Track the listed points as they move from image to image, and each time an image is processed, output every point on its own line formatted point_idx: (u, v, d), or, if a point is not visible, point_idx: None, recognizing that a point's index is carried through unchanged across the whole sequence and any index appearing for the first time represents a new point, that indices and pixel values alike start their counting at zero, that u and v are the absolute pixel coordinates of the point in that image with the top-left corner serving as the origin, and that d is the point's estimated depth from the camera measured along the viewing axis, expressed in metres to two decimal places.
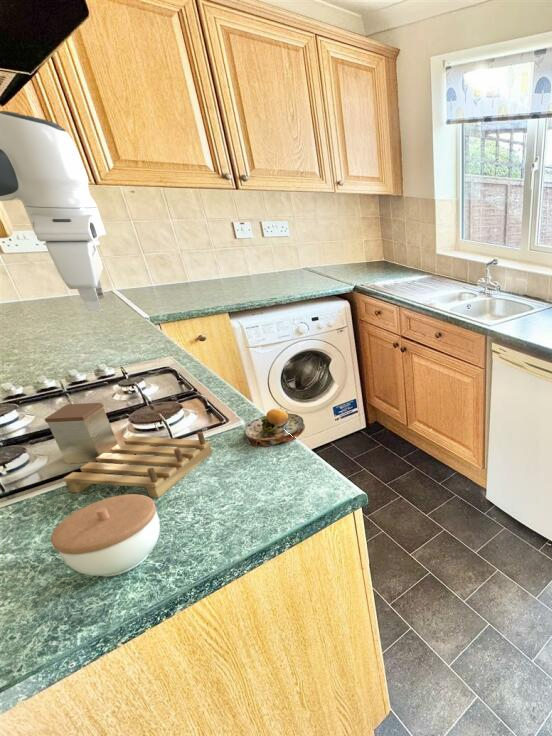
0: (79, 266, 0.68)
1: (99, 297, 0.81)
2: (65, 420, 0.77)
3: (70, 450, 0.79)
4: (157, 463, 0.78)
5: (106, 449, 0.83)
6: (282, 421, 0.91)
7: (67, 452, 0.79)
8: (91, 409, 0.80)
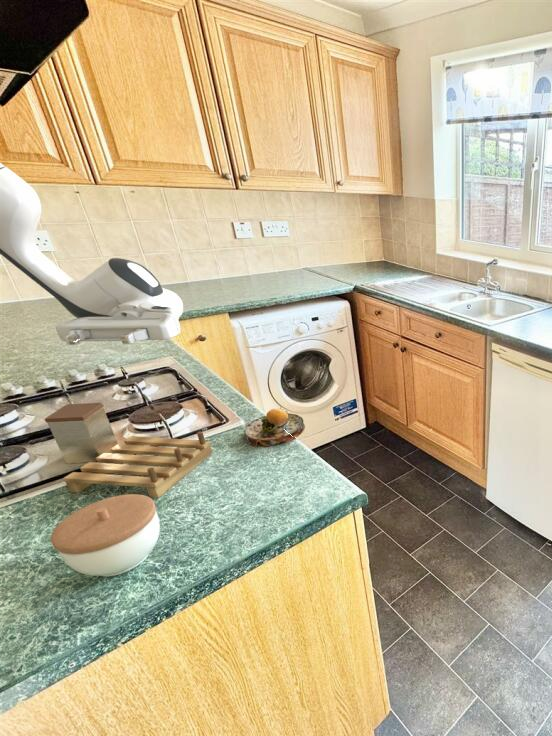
0: (173, 330, 0.95)
1: (75, 341, 0.85)
2: (65, 420, 0.77)
3: (70, 450, 0.79)
4: (157, 463, 0.78)
5: (106, 449, 0.83)
6: (282, 421, 0.91)
7: (67, 452, 0.79)
8: (91, 409, 0.80)
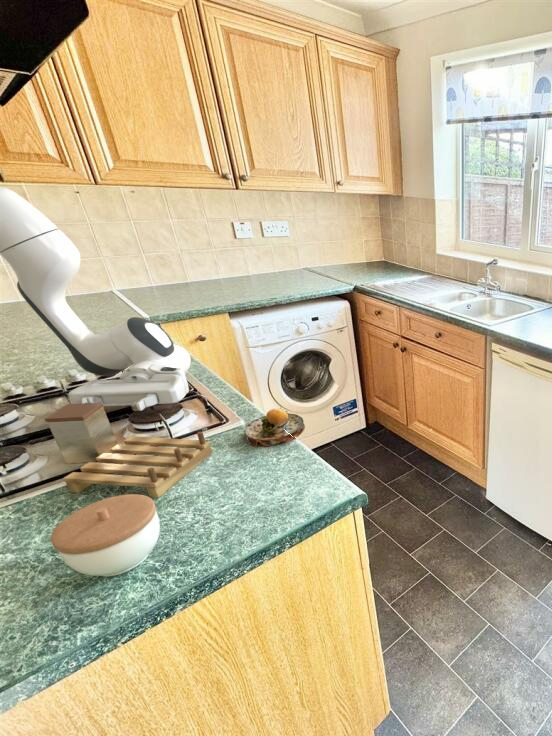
0: (182, 392, 0.98)
1: None
2: (65, 420, 0.77)
3: (70, 450, 0.79)
4: (157, 463, 0.78)
5: (106, 449, 0.83)
6: (282, 421, 0.91)
7: (67, 452, 0.79)
8: (91, 409, 0.80)
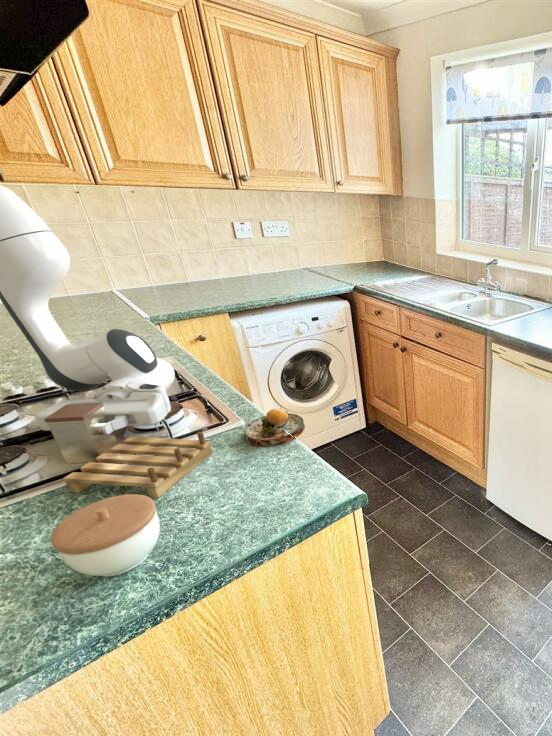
0: (163, 411, 0.90)
1: None
2: (65, 420, 0.77)
3: (70, 450, 0.79)
4: (157, 463, 0.78)
5: (106, 449, 0.83)
6: (282, 421, 0.91)
7: (67, 452, 0.79)
8: (91, 409, 0.80)
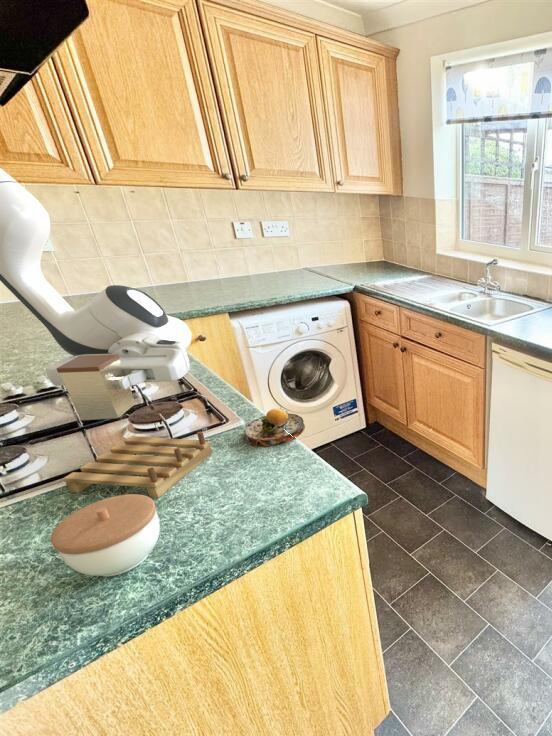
0: (182, 368, 0.83)
1: None
2: (79, 370, 0.70)
3: (84, 405, 0.72)
4: (157, 463, 0.78)
5: (123, 406, 0.76)
6: (282, 421, 0.91)
7: (81, 407, 0.72)
8: (107, 360, 0.73)
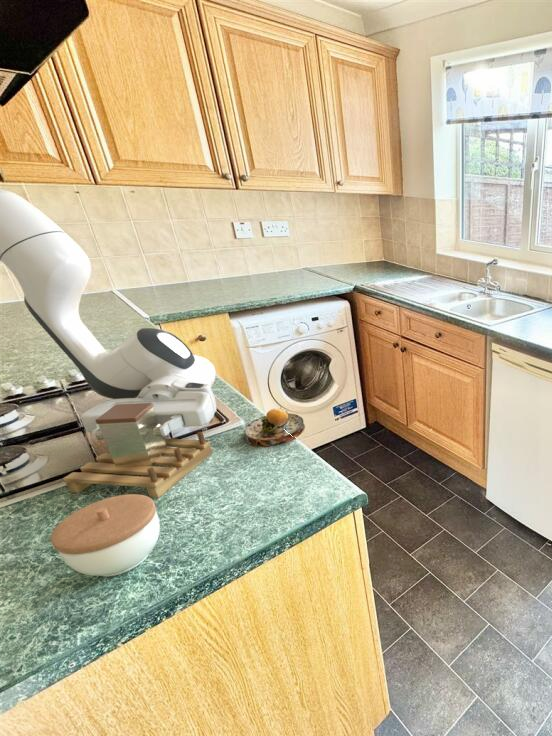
0: (211, 412, 0.85)
1: None
2: (117, 421, 0.72)
3: (120, 453, 0.74)
4: (157, 463, 0.78)
5: (156, 452, 0.78)
6: (282, 421, 0.91)
7: (116, 456, 0.74)
8: (142, 410, 0.75)
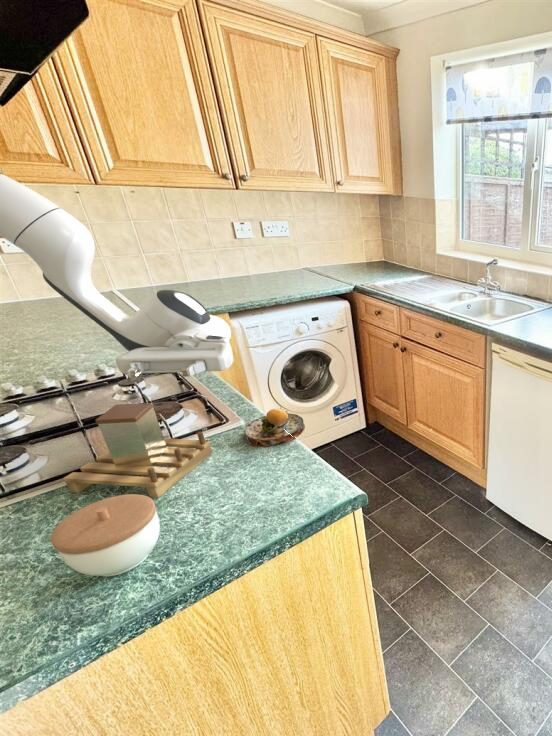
0: (229, 360, 0.95)
1: (137, 375, 0.85)
2: (117, 421, 0.72)
3: (120, 453, 0.74)
4: (157, 463, 0.78)
5: (156, 452, 0.78)
6: (282, 421, 0.91)
7: (116, 456, 0.74)
8: (142, 410, 0.75)
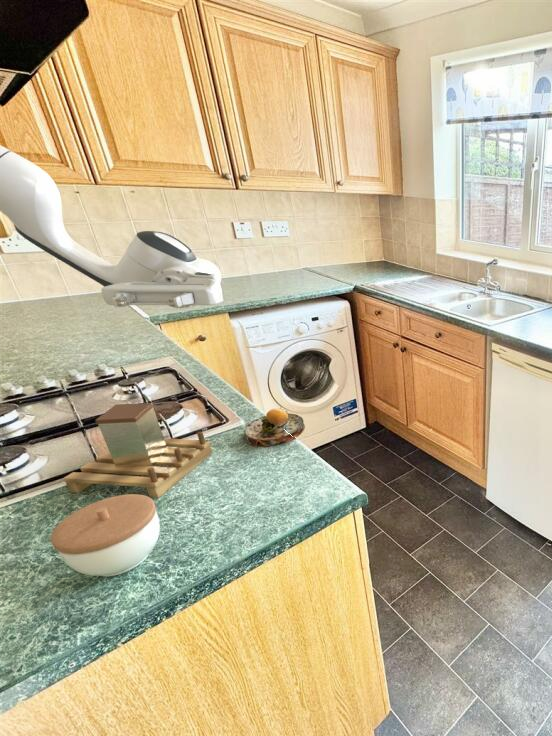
0: (218, 296, 0.93)
1: (123, 303, 0.83)
2: (117, 421, 0.72)
3: (120, 453, 0.74)
4: (157, 463, 0.78)
5: (156, 452, 0.78)
6: (282, 421, 0.91)
7: (116, 456, 0.74)
8: (142, 410, 0.75)
